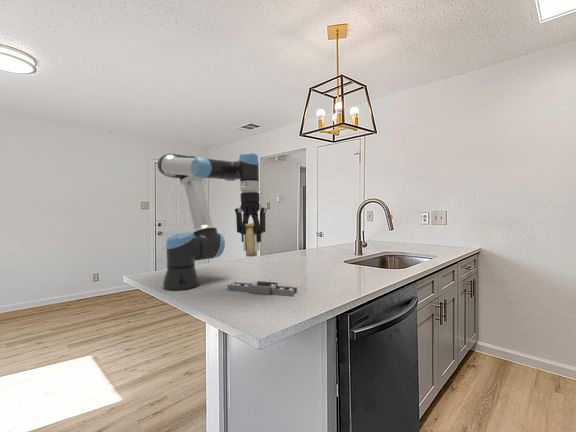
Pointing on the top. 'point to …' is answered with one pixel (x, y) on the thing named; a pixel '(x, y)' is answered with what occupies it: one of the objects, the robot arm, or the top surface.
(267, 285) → the chain joint
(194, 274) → the robot arm
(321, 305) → the top surface
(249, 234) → the pin
